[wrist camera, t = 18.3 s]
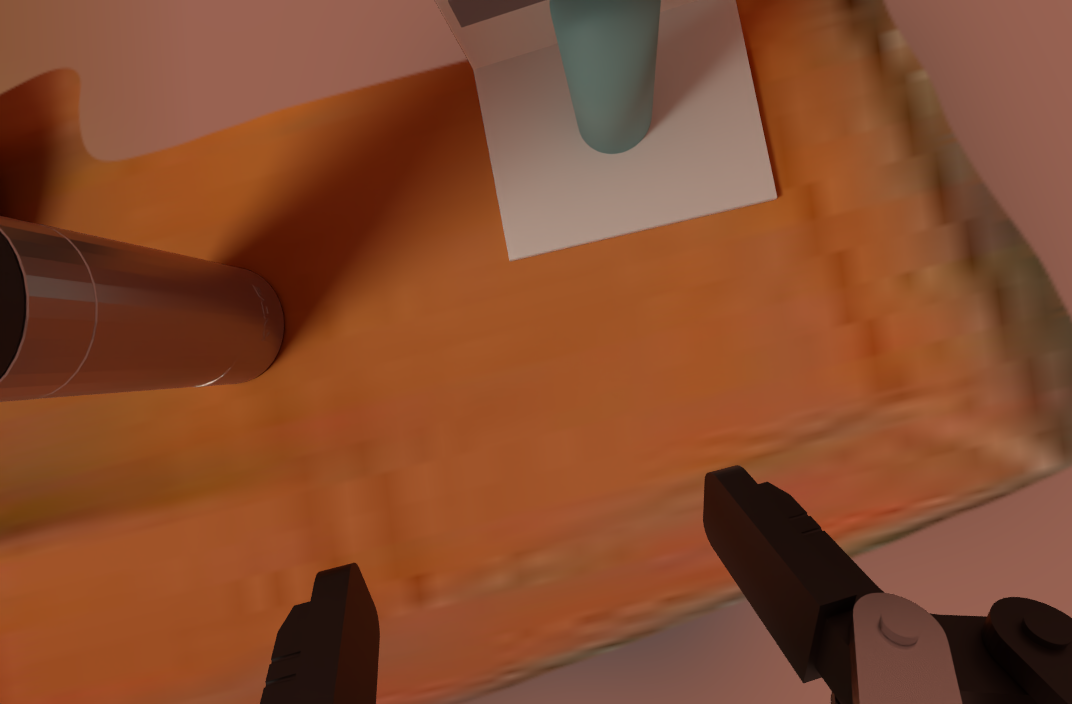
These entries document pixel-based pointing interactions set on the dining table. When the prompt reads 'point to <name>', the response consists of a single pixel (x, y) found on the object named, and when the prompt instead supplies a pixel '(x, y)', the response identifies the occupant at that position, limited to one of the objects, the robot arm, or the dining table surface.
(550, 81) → the stand
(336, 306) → the dining table surface
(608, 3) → the post
